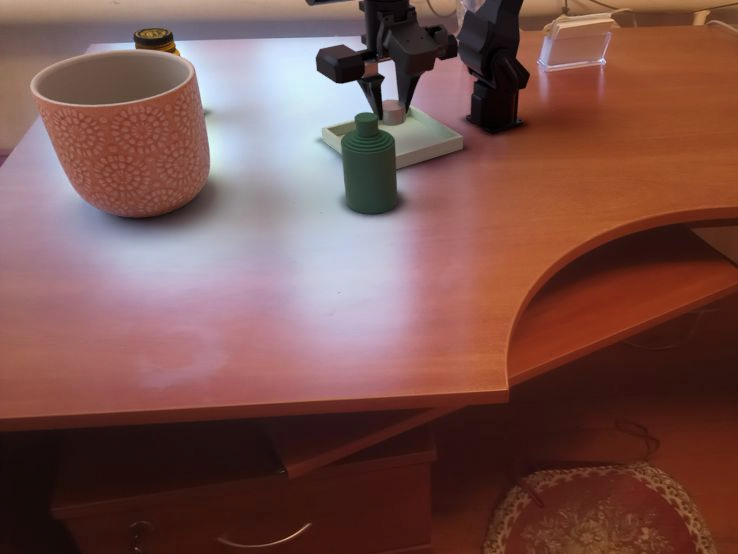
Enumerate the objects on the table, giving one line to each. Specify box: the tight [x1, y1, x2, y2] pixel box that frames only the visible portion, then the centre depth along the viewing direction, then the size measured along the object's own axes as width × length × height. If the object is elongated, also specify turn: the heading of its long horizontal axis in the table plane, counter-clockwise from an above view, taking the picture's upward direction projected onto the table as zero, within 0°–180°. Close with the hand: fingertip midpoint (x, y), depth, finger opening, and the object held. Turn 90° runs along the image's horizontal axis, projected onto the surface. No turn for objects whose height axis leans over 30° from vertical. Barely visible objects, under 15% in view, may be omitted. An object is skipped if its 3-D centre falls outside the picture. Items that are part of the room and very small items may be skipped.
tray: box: [320, 104, 464, 170], centre depth 102 cm, size 15×13×2 cm
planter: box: [29, 48, 211, 219], centre depth 85 cm, size 17×17×15 cm
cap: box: [379, 99, 406, 126], centre depth 100 cm, size 4×4×2 cm
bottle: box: [341, 111, 398, 215], centre depth 87 cm, size 6×6×11 cm
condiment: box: [132, 27, 206, 114], centre depth 104 cm, size 7×8×12 cm
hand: (391, 116), depth 100 cm, fingers closed on cap, 4 cm apart
